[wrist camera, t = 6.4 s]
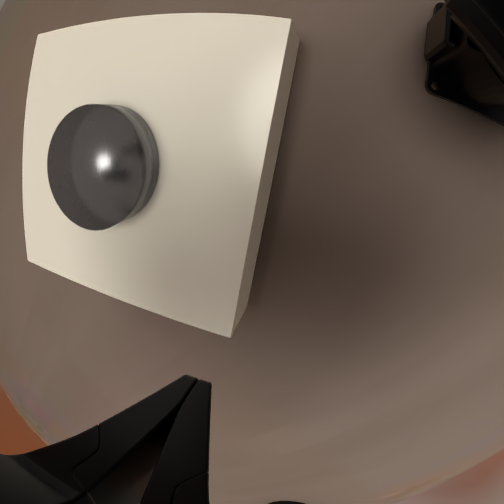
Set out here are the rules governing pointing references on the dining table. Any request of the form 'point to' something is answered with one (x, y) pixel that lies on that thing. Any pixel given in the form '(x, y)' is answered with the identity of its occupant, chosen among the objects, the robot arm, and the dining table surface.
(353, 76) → the dining table surface
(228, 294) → the block
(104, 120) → the plunger
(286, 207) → the dining table surface
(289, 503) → the wine bottle
